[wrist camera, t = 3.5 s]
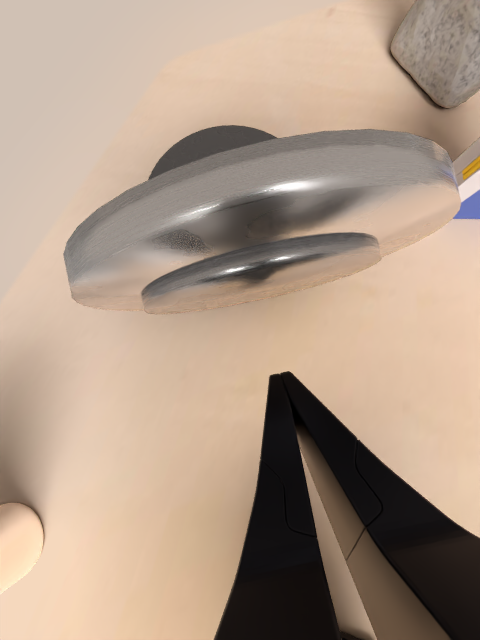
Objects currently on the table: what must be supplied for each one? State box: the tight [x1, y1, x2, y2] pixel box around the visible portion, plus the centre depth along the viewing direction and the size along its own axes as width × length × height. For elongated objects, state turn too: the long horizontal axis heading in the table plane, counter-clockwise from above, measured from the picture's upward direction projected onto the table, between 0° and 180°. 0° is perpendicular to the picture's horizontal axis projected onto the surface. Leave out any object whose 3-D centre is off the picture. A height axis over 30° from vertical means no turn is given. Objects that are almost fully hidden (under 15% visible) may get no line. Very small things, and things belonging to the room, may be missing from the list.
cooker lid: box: [64, 129, 461, 314], centre depth 11 cm, size 14×14×2 cm
